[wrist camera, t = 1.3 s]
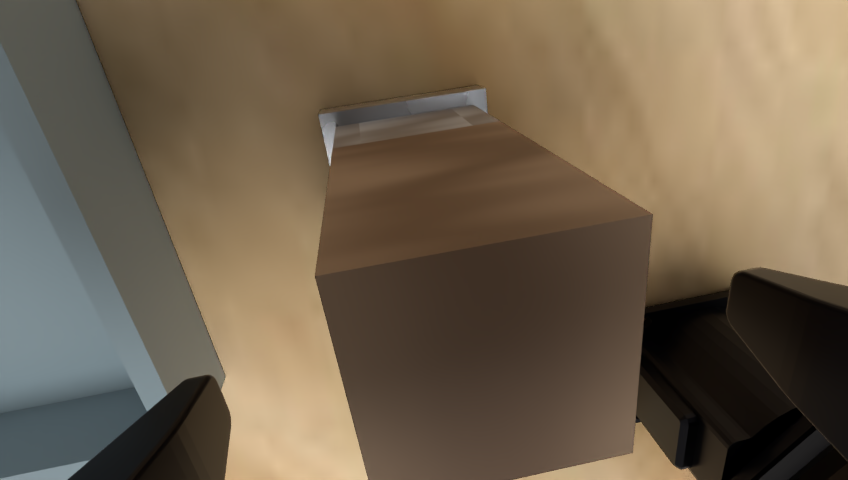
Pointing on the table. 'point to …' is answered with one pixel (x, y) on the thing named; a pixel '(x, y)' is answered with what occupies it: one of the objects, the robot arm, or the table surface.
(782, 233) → the table surface
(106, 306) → the bin
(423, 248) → the strut
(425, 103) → the knob on square plate
